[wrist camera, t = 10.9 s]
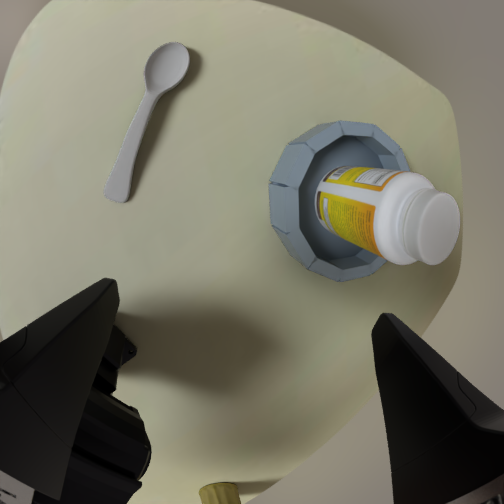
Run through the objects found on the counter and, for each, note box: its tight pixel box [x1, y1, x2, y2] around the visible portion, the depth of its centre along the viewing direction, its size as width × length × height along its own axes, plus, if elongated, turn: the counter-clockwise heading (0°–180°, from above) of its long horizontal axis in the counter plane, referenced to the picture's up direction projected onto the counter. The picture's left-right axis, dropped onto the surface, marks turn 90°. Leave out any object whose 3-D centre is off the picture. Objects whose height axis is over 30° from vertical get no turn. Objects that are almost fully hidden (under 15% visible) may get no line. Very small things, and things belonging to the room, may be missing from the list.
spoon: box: [104, 42, 190, 203], centre depth 17 cm, size 3×12×2 cm, turn 159°
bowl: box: [269, 121, 410, 282], centre depth 21 cm, size 12×12×3 cm
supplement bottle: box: [315, 166, 460, 265], centre depth 17 cm, size 6×6×10 cm
